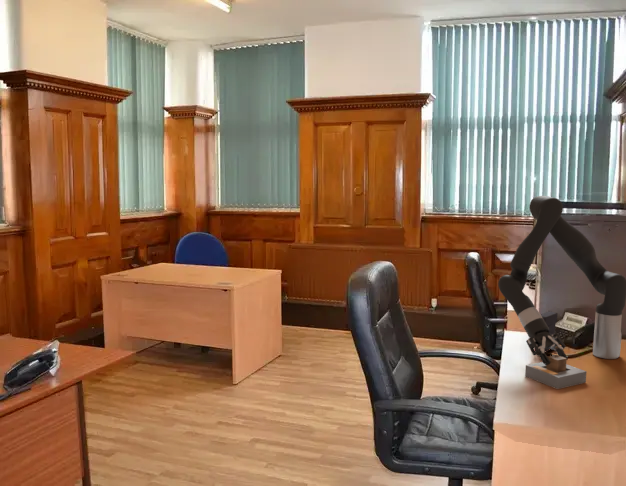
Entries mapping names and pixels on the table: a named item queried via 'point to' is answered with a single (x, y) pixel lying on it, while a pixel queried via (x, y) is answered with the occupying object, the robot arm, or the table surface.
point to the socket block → (555, 375)
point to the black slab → (550, 323)
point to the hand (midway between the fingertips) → (556, 362)
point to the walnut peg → (557, 363)
